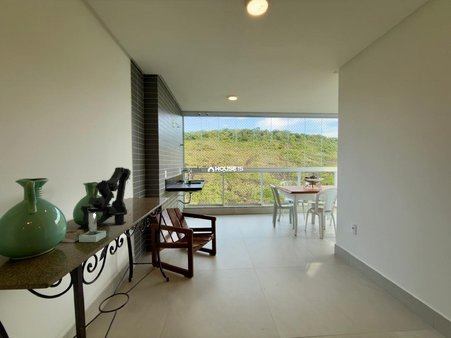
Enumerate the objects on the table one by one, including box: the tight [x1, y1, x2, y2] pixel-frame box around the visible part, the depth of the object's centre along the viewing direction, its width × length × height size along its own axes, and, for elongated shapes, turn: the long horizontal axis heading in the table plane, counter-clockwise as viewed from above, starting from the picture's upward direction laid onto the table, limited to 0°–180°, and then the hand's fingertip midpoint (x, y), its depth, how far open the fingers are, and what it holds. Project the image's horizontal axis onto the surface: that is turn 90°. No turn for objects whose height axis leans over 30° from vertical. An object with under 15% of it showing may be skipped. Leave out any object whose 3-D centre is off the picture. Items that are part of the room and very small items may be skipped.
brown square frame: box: [61, 229, 85, 243], centre depth 118 cm, size 8×8×4 cm
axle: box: [88, 212, 98, 235], centre depth 119 cm, size 4×4×14 cm
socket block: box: [78, 230, 107, 243], centre depth 119 cm, size 9×9×3 cm
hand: (90, 224), depth 117 cm, fingers open, 9 cm apart
